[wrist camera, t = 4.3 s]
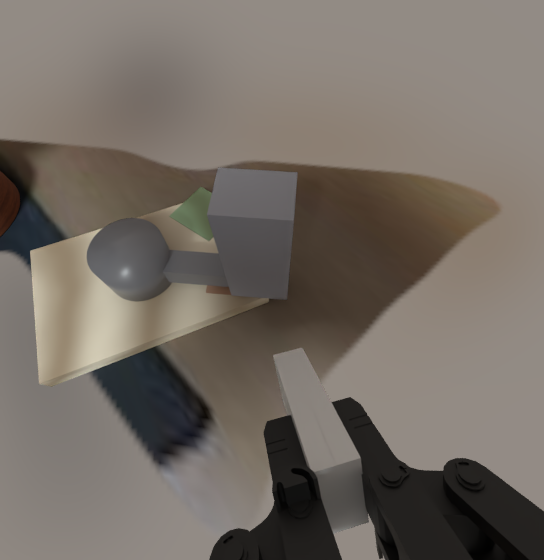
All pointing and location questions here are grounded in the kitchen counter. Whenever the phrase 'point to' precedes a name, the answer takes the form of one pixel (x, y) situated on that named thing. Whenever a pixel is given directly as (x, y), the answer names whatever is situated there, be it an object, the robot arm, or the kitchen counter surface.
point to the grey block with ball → (228, 237)
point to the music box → (8, 203)
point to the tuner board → (121, 300)
